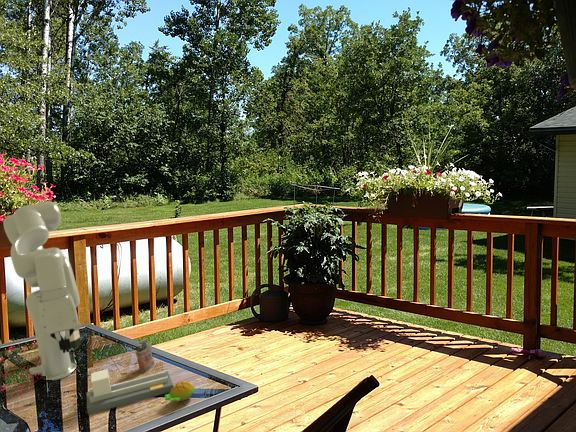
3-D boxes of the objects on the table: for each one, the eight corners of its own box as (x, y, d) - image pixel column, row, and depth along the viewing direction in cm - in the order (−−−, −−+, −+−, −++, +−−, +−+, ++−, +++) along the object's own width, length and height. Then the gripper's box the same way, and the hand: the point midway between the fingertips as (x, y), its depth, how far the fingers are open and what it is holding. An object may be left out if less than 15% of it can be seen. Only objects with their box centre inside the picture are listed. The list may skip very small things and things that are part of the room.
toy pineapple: (200, 395, 169) (198, 378, 168) (177, 411, 161) (174, 394, 160) (185, 391, 173) (182, 375, 172) (161, 406, 165) (158, 390, 164)
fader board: (88, 414, 165) (86, 403, 165) (87, 397, 177) (85, 387, 176) (174, 390, 174) (172, 380, 173) (168, 376, 185) (167, 366, 184)
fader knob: (95, 401, 168) (91, 381, 167) (94, 392, 175) (91, 373, 174) (112, 397, 170) (108, 377, 169) (111, 387, 176) (107, 369, 175)
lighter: (146, 373, 190) (141, 345, 188) (137, 373, 191) (132, 346, 189) (156, 362, 198) (151, 336, 196) (147, 363, 199) (142, 337, 197)
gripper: (26, 302, 158) (38, 361, 161) (80, 291, 163) (92, 349, 166) (28, 295, 165) (40, 353, 168) (81, 285, 170) (91, 341, 173)
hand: (66, 350), depth 167 cm, fingers closed
